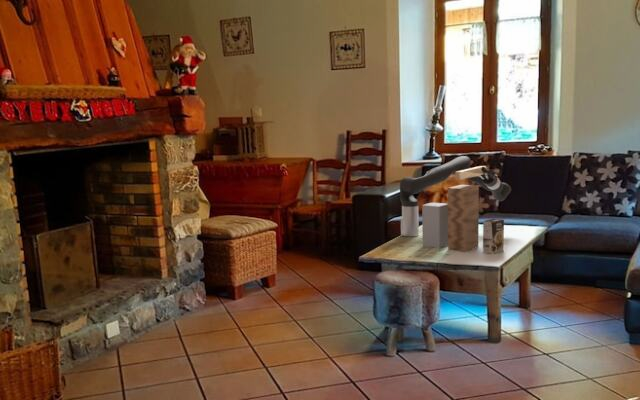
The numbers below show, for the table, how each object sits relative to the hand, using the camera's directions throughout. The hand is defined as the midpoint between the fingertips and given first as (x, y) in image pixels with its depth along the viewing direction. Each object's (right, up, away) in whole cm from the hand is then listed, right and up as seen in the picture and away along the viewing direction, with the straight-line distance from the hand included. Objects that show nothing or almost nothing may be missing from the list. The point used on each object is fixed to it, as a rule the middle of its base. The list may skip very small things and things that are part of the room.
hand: (479, 168), depth 324 cm
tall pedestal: (-10, -42, -7) cm, 43 cm away
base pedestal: (-23, -41, +1) cm, 47 cm away
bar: (-5, -5, -6) cm, 9 cm away
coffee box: (+3, -43, -17) cm, 46 cm away
